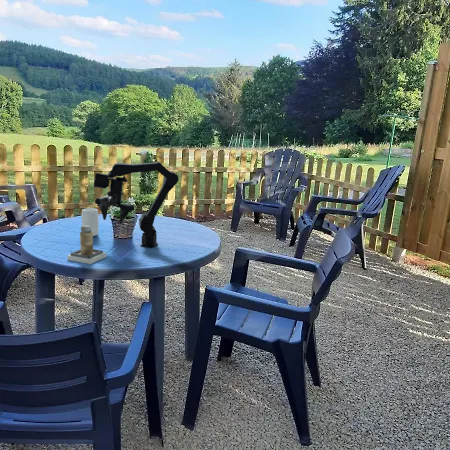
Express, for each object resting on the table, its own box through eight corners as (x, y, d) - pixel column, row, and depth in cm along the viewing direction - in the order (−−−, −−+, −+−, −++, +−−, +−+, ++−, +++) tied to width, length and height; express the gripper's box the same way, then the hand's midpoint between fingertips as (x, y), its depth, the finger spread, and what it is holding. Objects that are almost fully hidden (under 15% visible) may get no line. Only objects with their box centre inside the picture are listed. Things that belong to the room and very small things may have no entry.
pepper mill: (94, 252, 189) (93, 225, 186) (91, 255, 184) (90, 228, 181) (82, 251, 189) (81, 224, 186) (79, 255, 184) (78, 227, 180)
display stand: (106, 256, 190) (105, 250, 189) (90, 264, 180) (90, 257, 179) (83, 253, 194) (83, 246, 193) (67, 259, 184) (67, 253, 183)
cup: (89, 239, 215) (88, 212, 212) (78, 236, 220) (77, 209, 216) (102, 236, 222) (101, 209, 219) (92, 233, 227) (91, 207, 223)
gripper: (88, 186, 194) (85, 219, 197) (122, 195, 188) (118, 228, 191) (103, 185, 205) (100, 216, 208) (136, 193, 198) (132, 225, 202)
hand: (112, 221), depth 202 cm, fingers open, 9 cm apart
